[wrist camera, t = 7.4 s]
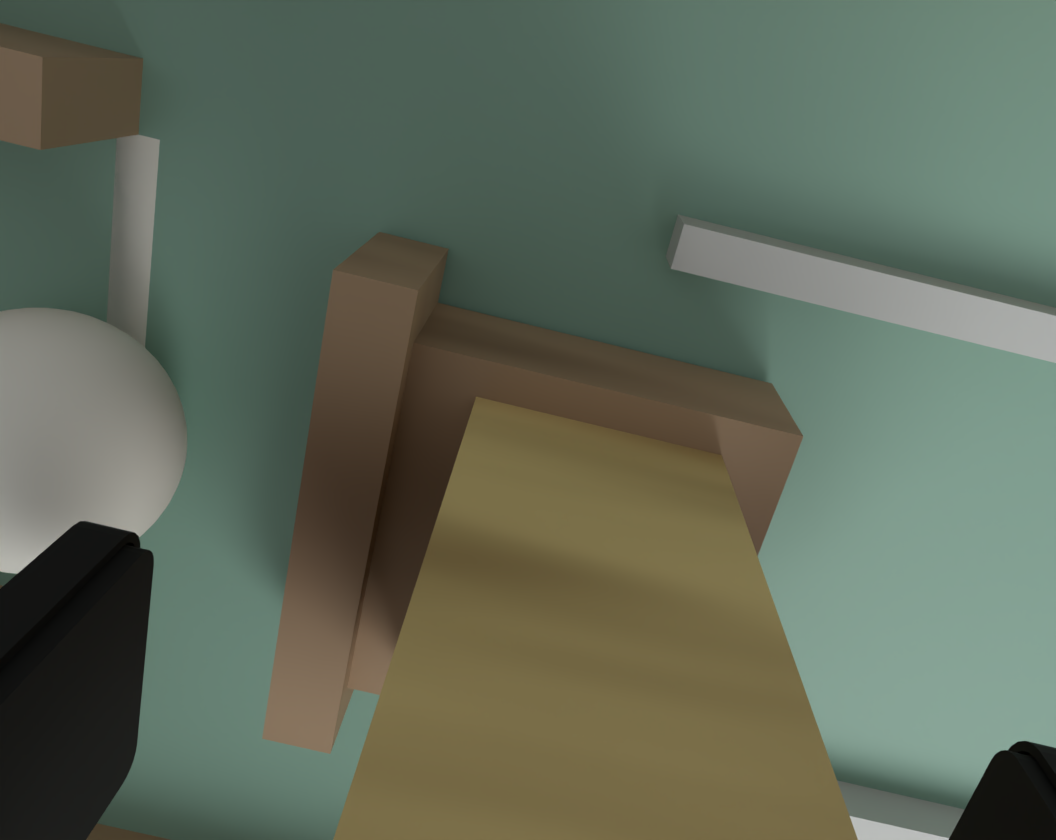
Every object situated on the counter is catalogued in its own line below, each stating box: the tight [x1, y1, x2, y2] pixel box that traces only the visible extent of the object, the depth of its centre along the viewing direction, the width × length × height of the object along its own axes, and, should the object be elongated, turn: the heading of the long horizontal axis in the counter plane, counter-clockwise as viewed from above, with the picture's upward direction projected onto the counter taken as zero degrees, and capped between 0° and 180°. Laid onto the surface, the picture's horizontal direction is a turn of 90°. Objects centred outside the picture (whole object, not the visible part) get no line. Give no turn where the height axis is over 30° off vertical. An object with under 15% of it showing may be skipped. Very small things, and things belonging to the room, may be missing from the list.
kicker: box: [262, 232, 858, 840], centre depth 10 cm, size 7×6×9 cm
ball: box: [0, 308, 187, 574], centre depth 12 cm, size 4×4×4 cm
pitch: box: [0, 0, 1056, 840], centre depth 13 cm, size 20×28×4 cm
